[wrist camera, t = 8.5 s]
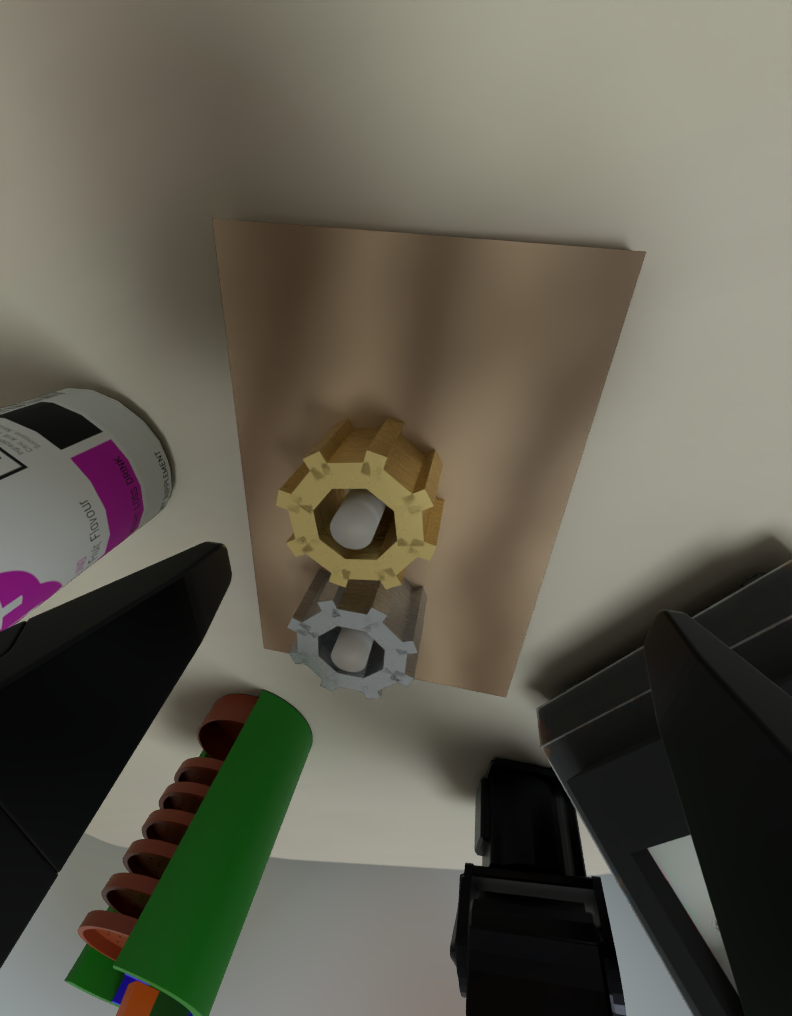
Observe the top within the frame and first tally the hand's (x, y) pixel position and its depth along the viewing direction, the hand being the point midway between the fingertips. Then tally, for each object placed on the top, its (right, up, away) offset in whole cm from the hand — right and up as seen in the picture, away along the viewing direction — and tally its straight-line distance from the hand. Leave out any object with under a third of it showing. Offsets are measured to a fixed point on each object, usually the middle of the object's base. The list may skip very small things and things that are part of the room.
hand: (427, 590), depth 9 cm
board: (0, +2, +14) cm, 14 cm away
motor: (-12, -17, +28) cm, 35 cm away
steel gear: (-2, -4, +16) cm, 16 cm away
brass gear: (-2, +3, +12) cm, 13 cm away
